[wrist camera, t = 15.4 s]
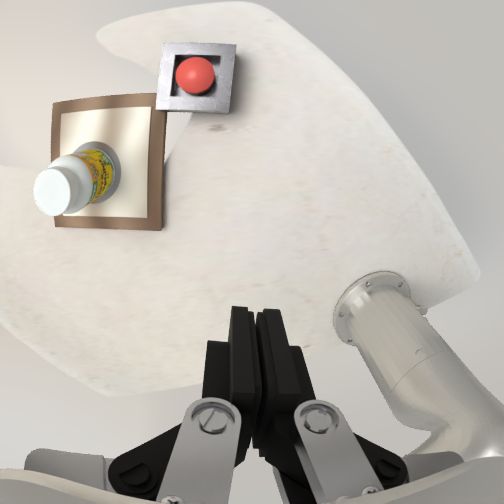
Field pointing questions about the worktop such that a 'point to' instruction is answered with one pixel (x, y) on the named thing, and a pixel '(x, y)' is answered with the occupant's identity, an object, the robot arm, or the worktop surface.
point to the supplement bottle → (73, 182)
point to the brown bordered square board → (116, 157)
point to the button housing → (210, 102)
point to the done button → (195, 76)
